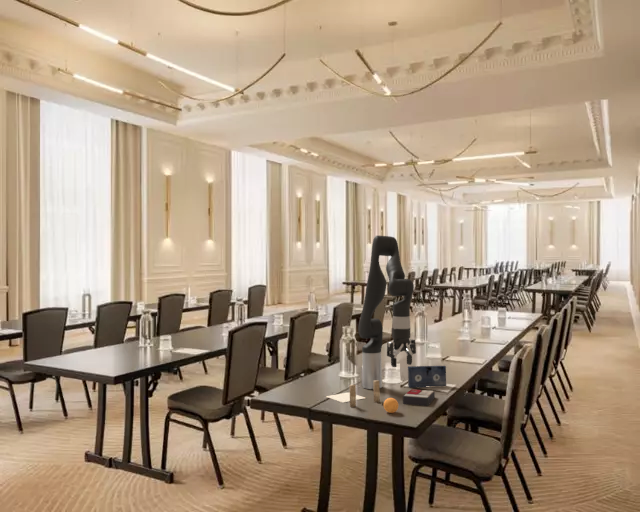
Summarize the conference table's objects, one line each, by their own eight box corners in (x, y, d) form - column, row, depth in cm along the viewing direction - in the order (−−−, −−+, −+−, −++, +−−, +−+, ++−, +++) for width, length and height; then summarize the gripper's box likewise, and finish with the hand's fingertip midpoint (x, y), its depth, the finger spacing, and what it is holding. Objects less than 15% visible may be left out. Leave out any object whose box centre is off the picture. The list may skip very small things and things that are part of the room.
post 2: (372, 401, 247) (372, 380, 247) (377, 400, 249) (376, 380, 249) (376, 402, 245) (376, 382, 245) (380, 401, 247) (380, 381, 247)
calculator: (434, 390, 252) (428, 396, 239) (434, 400, 252) (428, 406, 238) (410, 388, 257) (402, 394, 243) (410, 398, 256) (402, 404, 242)
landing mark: (325, 396, 257) (325, 396, 257) (348, 392, 264) (348, 392, 264) (342, 402, 246) (342, 402, 246) (365, 398, 253) (365, 397, 253)
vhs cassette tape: (445, 385, 275) (444, 365, 275) (446, 387, 272) (446, 366, 272) (407, 386, 275) (407, 366, 275) (408, 388, 272) (408, 367, 272)
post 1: (348, 406, 240) (348, 385, 240) (353, 405, 241) (353, 384, 241) (352, 407, 238) (351, 386, 238) (357, 406, 239) (356, 385, 239)
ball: (380, 412, 230) (380, 397, 230) (391, 409, 233) (391, 395, 233) (390, 415, 225) (390, 400, 225) (401, 413, 228) (401, 398, 228)
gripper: (407, 324, 243) (407, 362, 243) (382, 327, 235) (382, 366, 235) (420, 326, 237) (420, 365, 237) (394, 329, 228) (395, 369, 228)
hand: (401, 365), depth 236 cm, fingers open, 8 cm apart
